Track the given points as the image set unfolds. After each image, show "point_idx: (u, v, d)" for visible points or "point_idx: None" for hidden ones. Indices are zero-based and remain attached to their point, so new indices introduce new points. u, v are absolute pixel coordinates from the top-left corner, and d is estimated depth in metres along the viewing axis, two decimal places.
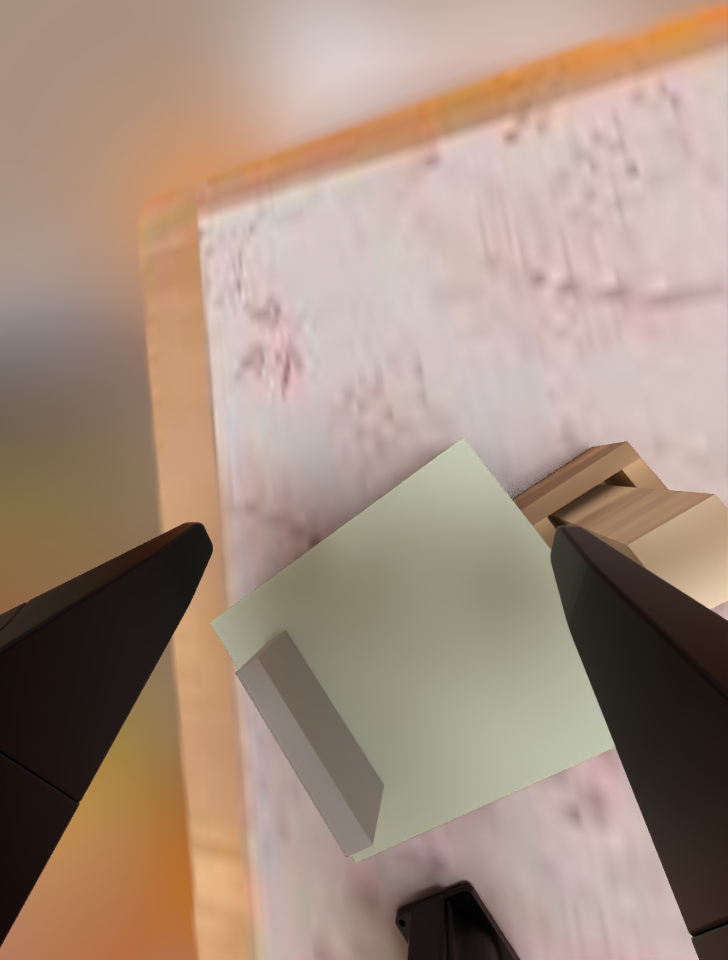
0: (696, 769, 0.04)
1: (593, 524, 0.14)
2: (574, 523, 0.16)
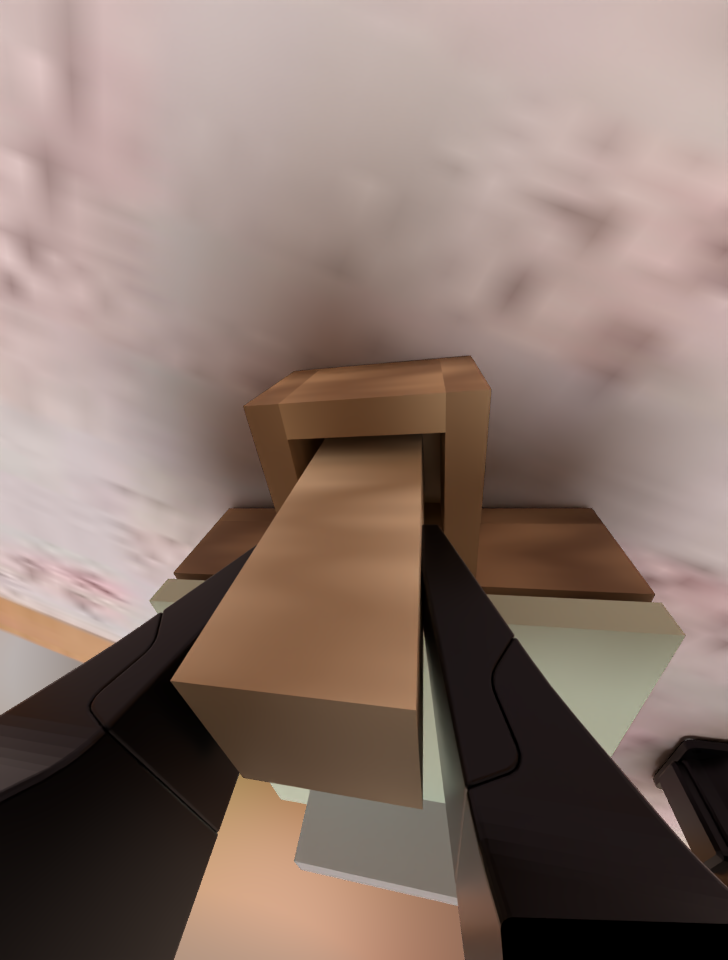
0: (444, 736, 0.04)
1: None
2: None
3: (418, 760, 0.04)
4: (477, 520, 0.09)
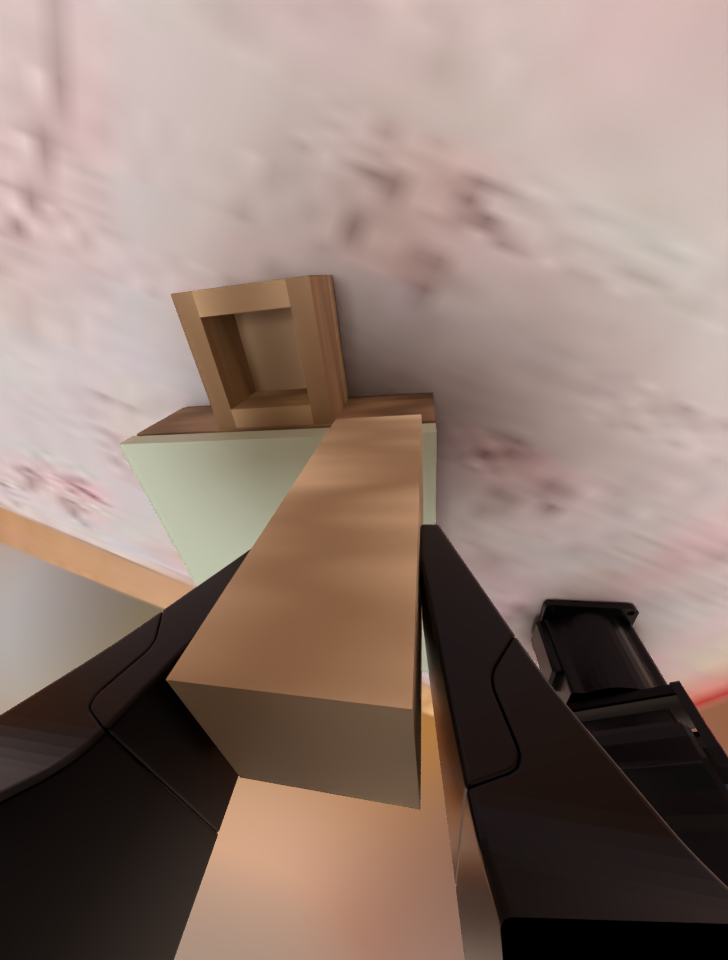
0: (444, 736, 0.04)
1: None
2: None
3: (415, 759, 0.04)
4: (323, 372, 0.15)
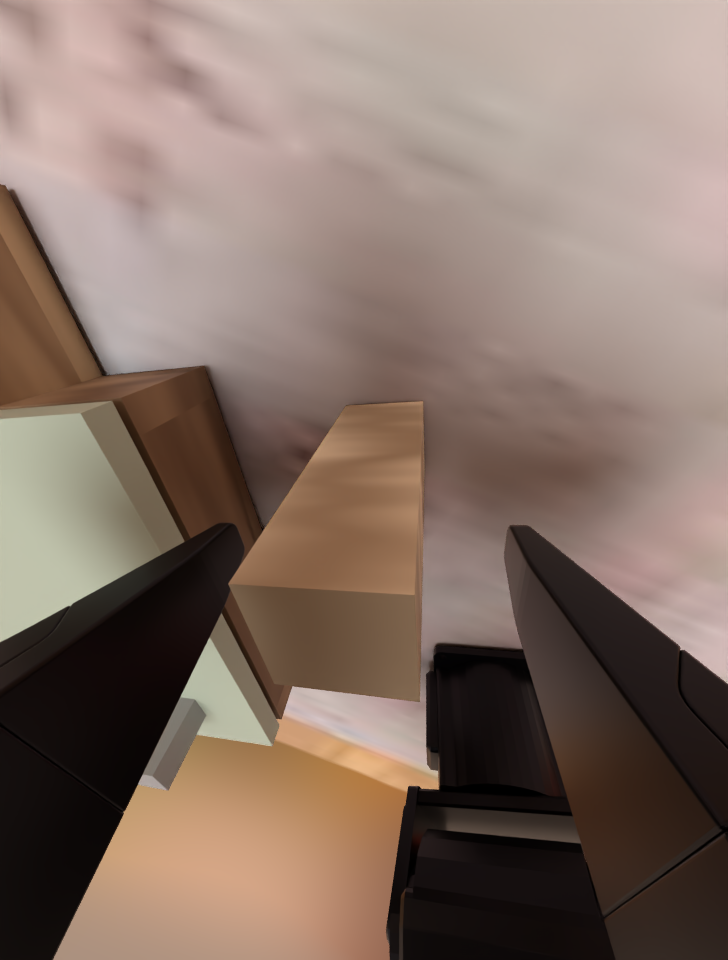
0: (601, 758, 0.04)
1: None
2: None
3: (416, 647, 0.05)
4: None
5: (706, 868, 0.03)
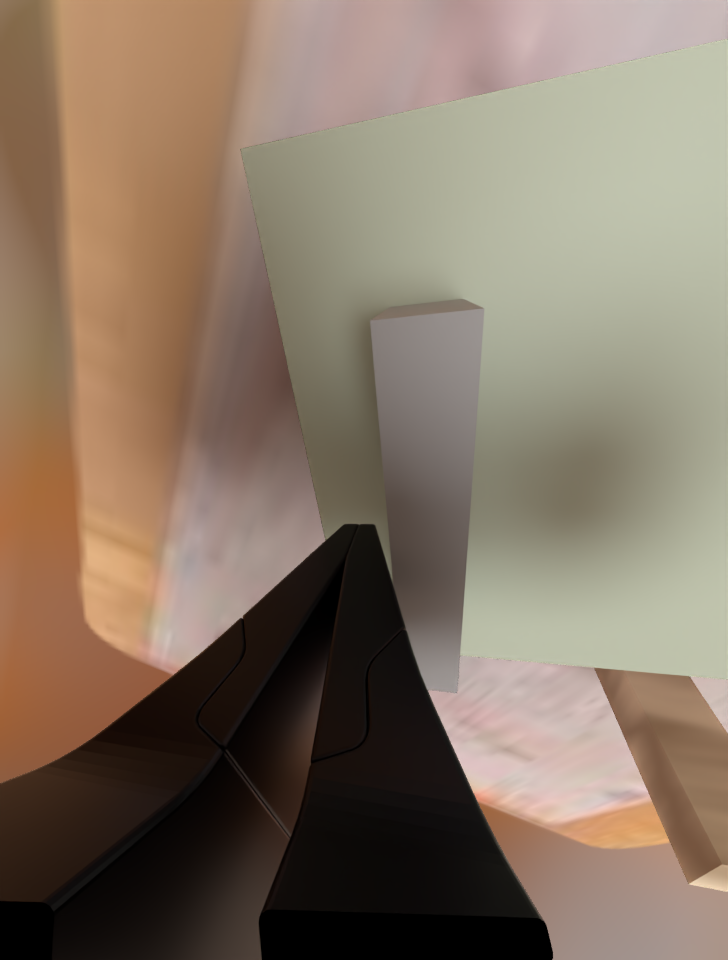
0: None
1: (672, 751, 0.14)
2: (646, 714, 0.16)
3: None
4: None
5: None
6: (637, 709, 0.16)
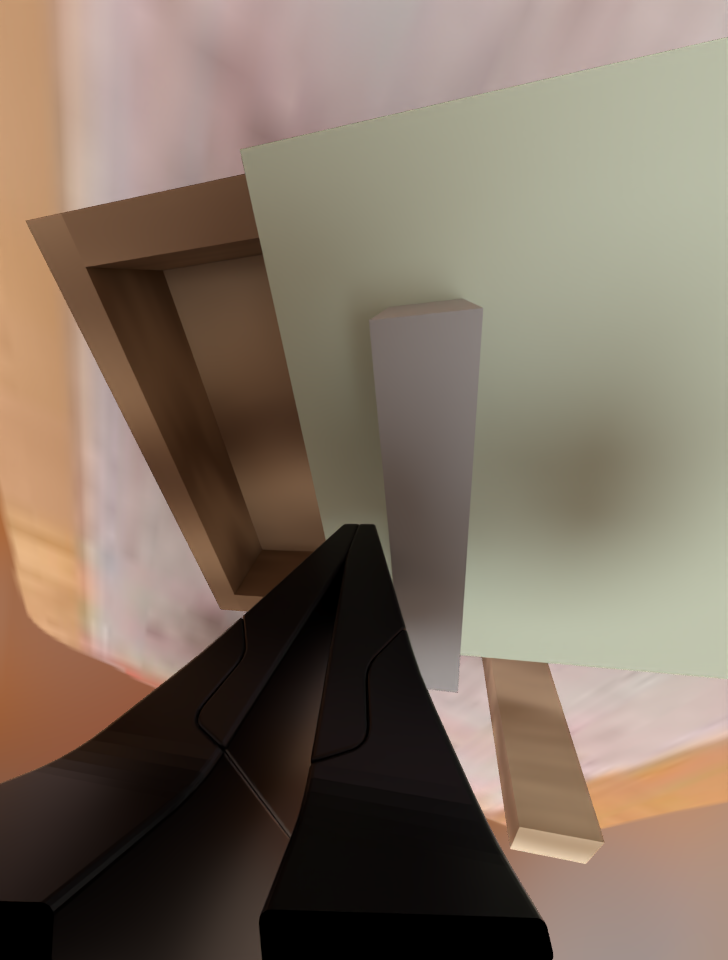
0: None
1: (510, 730, 0.16)
2: (498, 697, 0.17)
3: (552, 856, 0.14)
4: None
5: None
6: (495, 693, 0.17)
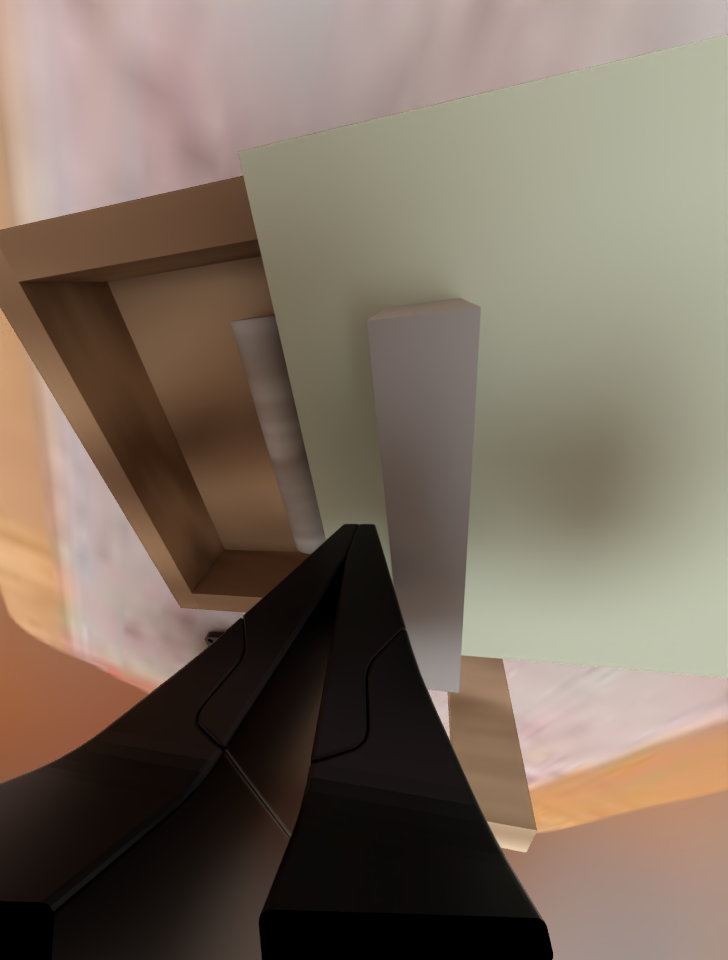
0: None
1: (459, 723, 0.16)
2: (450, 692, 0.17)
3: None
4: None
5: None
6: None
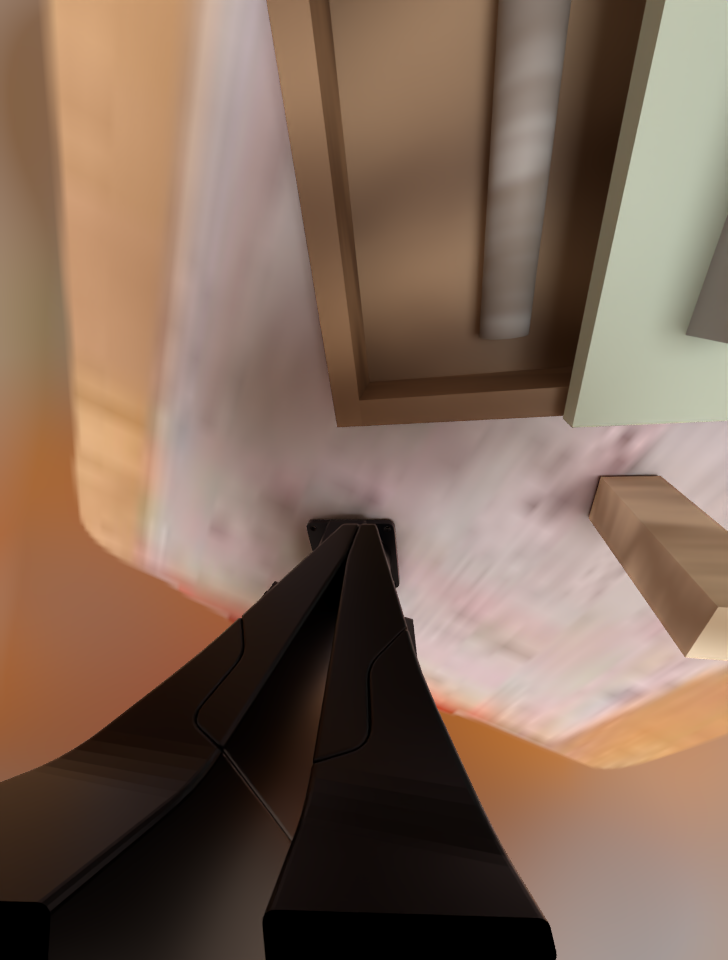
0: None
1: (669, 542, 0.14)
2: (642, 522, 0.15)
3: None
4: None
5: None
6: (633, 524, 0.16)
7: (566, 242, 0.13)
